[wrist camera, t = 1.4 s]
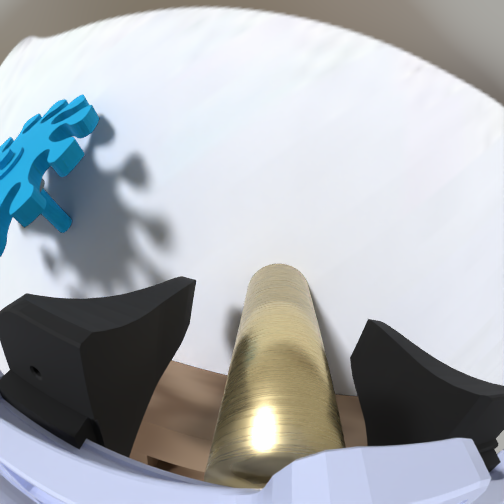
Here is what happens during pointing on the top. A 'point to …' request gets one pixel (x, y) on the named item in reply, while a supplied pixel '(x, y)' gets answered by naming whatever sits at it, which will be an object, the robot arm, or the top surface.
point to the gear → (41, 163)
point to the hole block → (204, 421)
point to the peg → (274, 386)
